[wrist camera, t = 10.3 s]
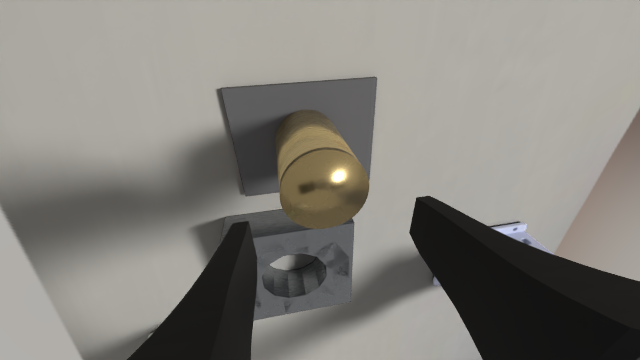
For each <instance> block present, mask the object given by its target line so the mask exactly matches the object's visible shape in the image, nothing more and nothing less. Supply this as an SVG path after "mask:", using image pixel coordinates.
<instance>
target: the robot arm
mask: <svg viewBox="0 0 640 360" xmlns="http://www.w3.org/2000/svg"><path fill="white" fill-rule="evenodd" d="M526 228H527V224H525V223H524V222H521V223H515V224H509V225H503V226H497V227H491V228H490V227H488V226H486V225H485V224H483V223H481V222H479V221H477V220H475V219H473V218H471V217H469V216H467V215H465V214H463V213H462V212H460V211H458V210H456V209H454V208H452V207H450V206H449V205H447V204H445V203H443V202H441V201H439V200H437V199H435V198H433V197H431V196H425V197H418V198H416V202H415V207H414V212H413V217H412V222H411V227H410V232H409V233H410V235H411V237H412V239H413V241H414V243H415V245H416V247H417V249H418V251H419V253H420V255H421V256H422V258H423V259H424V261H425V262H426V264H427V265H428V267H429V268H430V270H431V271H432V273H433V274H434V279H433V284H434V285H435V286H438V285H441V286H442V288H443V289H444V291H445V292H446V294H447V295H448V296H449V298H450V300H451V301H452V303H453V304H454V306H455V308H456V309H457V311H458V313H459V315H460V317H461V319H462V320H463V322H464V324H465V326H466V328H467V330H468V331H469V333H470V335H471V337H472V339H473V341H474V343H475V345H476V347H477V349H478V351H479V353H480V355H481V357H482V359H483V360H640V281H635V280H632V279H628V278H625V277H621V276H618V275H615V274H611V273H608V272H604V271H601V270H598V269H595V268H591V267H588V266H585V265H582V264H579V263H576V262H573V261H570V260H567V259H565V258H562V257H559V256H556V255H554V254H553V253H552V252H550V251H549V250H548V249H547V248H545V247H544V246H543V245H542V244H540V243H539V242H538V241H537V240H535V239H534V238H533V237H531V236H530V235H529V234H528V233H526V232H525V230H526ZM256 289H257V254H256V250H255V246H254V241H253V237H252V233H251V228H250V224H249V221H244V222H237V223H233V224H232V225H231V226H230V228H229V230H228V232H227V234H226V235H225V237H224V239H223V241H222V242H221V244H220V246H219V247H218V249H217V251H216V252H215V254H214V255H213V257H212V258H211V260H210V262H209V263H208V265H207V266H206V268H205V269H204V271H203V272H202V273H201V275H200V276H199V277H198V279H197V280H196V282H195V283H194V284H193V286H192V287H191V289H190V290H189V291H188V292H187V294H186V295H185V296H184V298H183V299H182V300H181V301H180V303H179V304H178V305H177V306H176V307H175V309H174V310H173V311H172V312H171V313H170V315H169V316H168V317H167V318H166V319H165V320H164V321H163V322H162V324H161V325H160V326H159V327H158V328H157V329H156V330H155V331H154V332H153V334H152V335H151V336H150V337H149V338H148V339H147V340H146V341H145V342H144V343H143V344H142V345H141V346H140V347H139V348H138V349H137V350H136V351H135V352H134V353H133V354H132V355H131V356H130V357H129V358H128V359H127V360H251V339H252V329H253V319H254V309H255V299H256Z"/></svg>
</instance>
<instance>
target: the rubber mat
mask: <svg viewBox="0 0 640 360" xmlns="http://www.w3.org/2000/svg"><path fill="white" fill-rule="evenodd" d="M376 87H377V78H376V77H367V78H353V79H339V80H325V81H311V82H297V83H283V84H269V85H254V86H240V87H226V88H222V89H221V90H222V95H223V99H224V104H225V108H226V112H227V117H228V121H229V126H230V130H231V134H232V139H233V143H234V148H235V152H236V157H237V161H238V165H239V170H240V174H241V179H242V183H243V187H244V192H245V196H253V195H261V194H269V193H277V192H279V179H278V167H277V154H276V141H275V138H276V132H277V129H278V127H279V125H280V124H281V122H282V121H283V120H284V119H285V118H286V117H287V116H288V115H290V114H292V113H294V112H296V111H299V110H315V111H318V112H321V113H322V114H324V115H325V116H327V117H328V118H329V119H330V120H331V122H332V123H333V125H334V126H335V127H336V129H337V130H338V132H339V133H340V135H341V136H342V138H343V139H344V141H345V142H346V143H347V145H348V146H349V148H350V149H351V151H352V152H353V154H354V155H355V157H356V158H357V159H358V161H359V162H360V164H361V165H362V167H363V168H364V170H365V172H366V174H367V176H368V180H369V178H370V165H371V152H372V139H373V126H374V113H375V100H376Z"/></svg>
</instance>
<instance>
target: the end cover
mask: <svg viewBox="0 0 640 360" xmlns="http://www.w3.org/2000/svg"><path fill="white" fill-rule="evenodd" d="M275 141H276V154H277V167H278V179H279V192H280V202H281V206H282V208H283V210H284V212H285V214H286V215H287V216H288V217H289V218H290V219H291V220H292V221H294V222H295V223H297V224H299V225H301V226H304V227H307V228H312V229H326V228H331V227H335V226H338V225H340V224H343V223H344V222H346V221H348V220H349V219H351V218H352V217H353V216H355V215H356V214H357V213H358V212H359V211H360V209H361V208H362V207H363V205H364V203H365V201H366V199H367V196H368V192H369V180H368V176H367V174H366V172H365V170H364V168H363V167H362V165H361V164H360V162H359V161H358V159H357V158H356V157H355V155H354V154H353V152H352V151H351V149H350V148H349V146H348V145H347V143H346V142H345V141H344V139H343V138H342V136H341V135H340V133H339V132H338V130H337V129H336V127H335V126H334V125H333V123H332V122H331V120H330V119H329V118H328V117H327V116H325V115H324V114H322V113H321V112H318V111H315V110H299V111H296V112H294V113H292V114H290V115H288V116H287V117H286V118H285V119H284V120H283V121H282V122H281V124H280V125H279V127H278V129H277V132H276V138H275Z"/></svg>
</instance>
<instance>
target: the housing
mask: <svg viewBox="0 0 640 360" xmlns="http://www.w3.org/2000/svg"><path fill="white" fill-rule="evenodd" d="M244 221H249V224H250V228H251V233H252V237H253V241H254V246H255V250H256V254H257V289H256V299H255V309H254V319H253V321H254V320H259V319H264V318H269V317H274V316H280V315H285V314H290V313H295V312H300V311H306V310H311V309H316V308H321V307H326V306H332V305H337V304H342V303H347V302H351V284H352V262H353V240H354V221H353V219H352V218H351V219H349V220H348V221H346V222H344V223H343V224H340V225H338V226H335V227H331V228H326V229H312V228H307V227H304V226H301V225H299V224H297V223H295V222H294V221H292V220H291V219H290V218H289V217H288V216H287V215H286V214H285V212H284V210H283V209H280V210H273V211H266V212H258V213H251V214H244V215H237V216H229V217H225V221H224V226H223V231H222V235H221V240H220V244H221V242H222V241H223V239H224V237H225V235H226V234H227V232H228V230H229V228H230V226H231V225H232V224H233V223H237V222H244ZM299 253H303V254H307V255H311V256H316V257H317V258H316V259H315V261H314V262H312V263H311V264H309V265H307V266H306V267H304V268H302V269H297V270H291V271H284V270H279V269H274V268H273V267H271V266H270V265H269V264H271V263H272V262H274V261H276V260H277V259H279V258H281V257H282V256H286V255H293V254H299Z"/></svg>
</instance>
